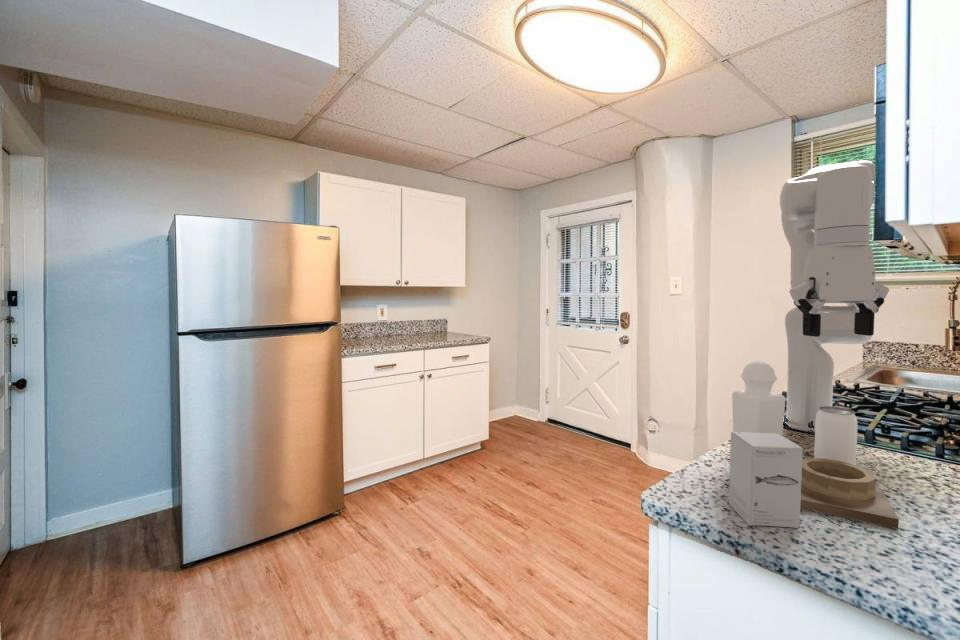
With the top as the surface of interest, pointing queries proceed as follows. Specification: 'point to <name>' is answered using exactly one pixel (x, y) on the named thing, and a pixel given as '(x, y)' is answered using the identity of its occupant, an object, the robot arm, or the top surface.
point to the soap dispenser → (758, 401)
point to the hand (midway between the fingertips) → (837, 335)
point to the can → (836, 434)
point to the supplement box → (765, 479)
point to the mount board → (844, 492)
